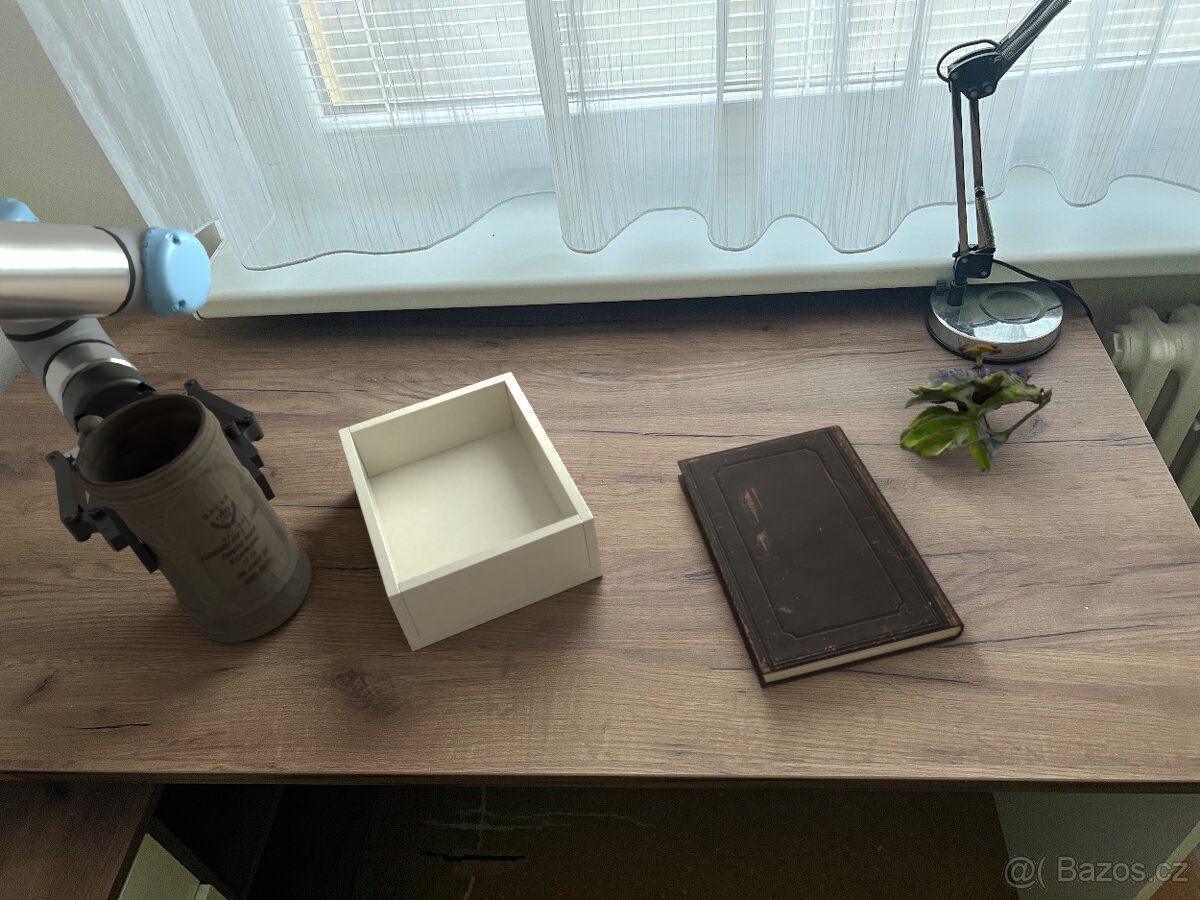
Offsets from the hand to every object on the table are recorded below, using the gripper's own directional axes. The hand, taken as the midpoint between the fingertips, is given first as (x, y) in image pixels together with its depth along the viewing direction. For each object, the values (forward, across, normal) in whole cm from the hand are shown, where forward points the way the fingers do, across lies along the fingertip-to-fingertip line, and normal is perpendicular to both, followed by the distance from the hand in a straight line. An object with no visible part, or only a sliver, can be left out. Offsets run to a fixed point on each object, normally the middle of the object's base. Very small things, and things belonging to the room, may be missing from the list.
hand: (208, 522), depth 68 cm
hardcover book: (+30, -36, -12) cm, 49 cm away
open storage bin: (+6, -18, -12) cm, 23 cm away
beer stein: (-4, +1, -11) cm, 12 cm away
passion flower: (+33, -57, -12) cm, 67 cm away
